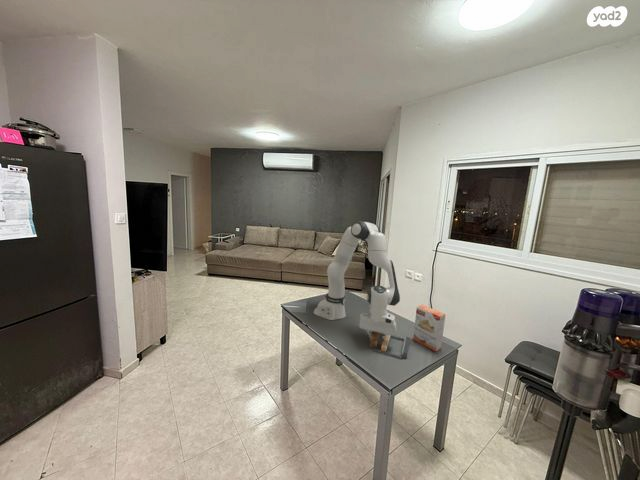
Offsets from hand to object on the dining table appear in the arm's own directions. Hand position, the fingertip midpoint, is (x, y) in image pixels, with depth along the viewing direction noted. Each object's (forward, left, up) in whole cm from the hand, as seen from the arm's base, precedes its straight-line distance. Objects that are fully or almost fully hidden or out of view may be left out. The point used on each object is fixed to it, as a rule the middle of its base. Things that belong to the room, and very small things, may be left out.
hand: (377, 338), depth 138 cm
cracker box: (+26, +13, -3) cm, 29 cm away
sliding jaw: (+5, +2, -3) cm, 6 cm away
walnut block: (-1, 0, -3) cm, 3 cm away
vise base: (+8, +2, -3) cm, 9 cm away
